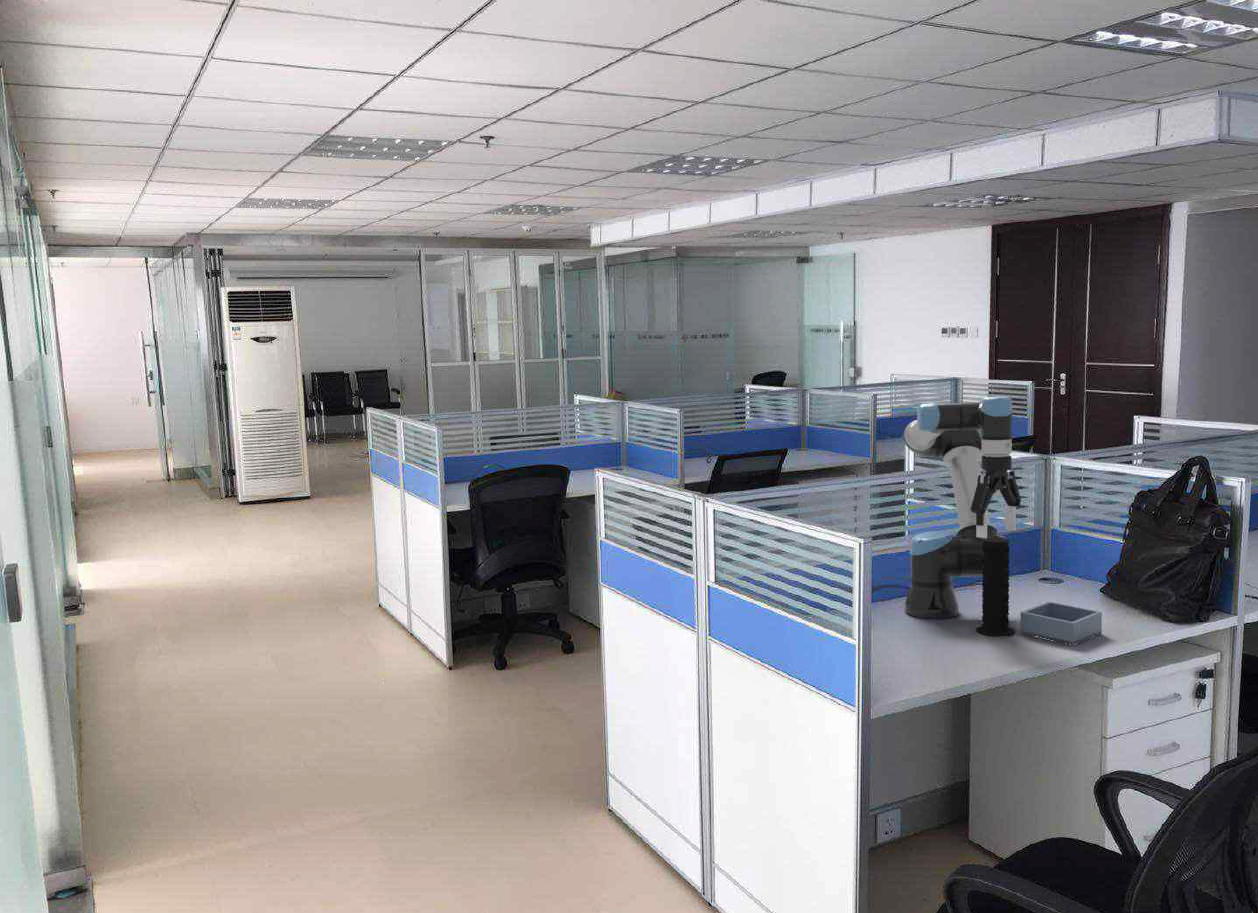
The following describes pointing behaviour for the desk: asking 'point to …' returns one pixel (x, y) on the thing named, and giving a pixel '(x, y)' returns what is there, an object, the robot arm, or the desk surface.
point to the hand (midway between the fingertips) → (996, 533)
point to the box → (1061, 623)
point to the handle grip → (995, 587)
